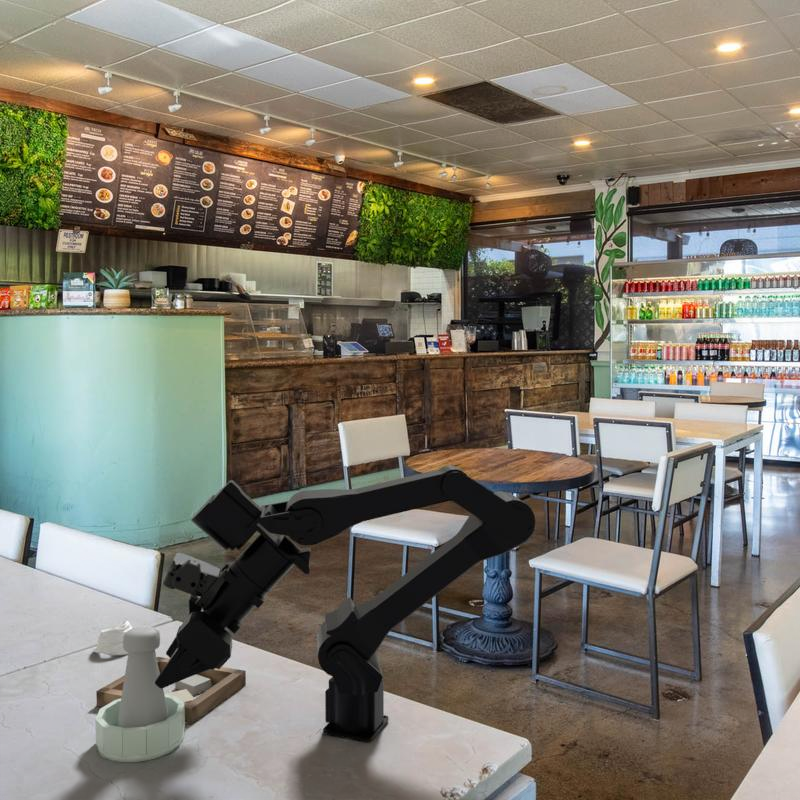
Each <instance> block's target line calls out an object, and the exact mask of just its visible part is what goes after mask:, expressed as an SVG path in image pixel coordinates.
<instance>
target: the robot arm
mask: <svg viewBox="0 0 800 800" xmlns="http://www.w3.org/2000/svg"><path fill="white" fill-rule="evenodd" d="M447 502H453V503H454V504H457V506H459V507H461V508H463V509H464V510H465V511H467V512H469V513H470V514H469V516H468V517H467V519H466V521H464V523H463V525H462V527H461V528H460V529H459V531H458V532H457V533H456V534H455V535H454V536H453V537H452V538H450V539H449V540H448V541H446V542H445V543H443V544H442V545H441V546H439V548H437V549H436V550H434V551H433V552H432V553H430V555H428V556H427V557H425V558H424V559H423V560H422V561H420V562H418V563H417V564H416V565H415V566H413V567H412V568H411V569H410V570H408V571H407V572H406V573H404V575H402V576H400V577H399V578H398V579H397V580H396V581H394V582H393V583H392V584H390V585H389V586H388V587H386V588H384V590H382V591H381V592H380V593H378V594H377V595H376V596H375V597H373V598H372V599H370V600H368V601H365V602H362V603H360V604H357V605H355V603H354V601H353V599H352V598H351V597H347V598H346V599H345V600H344V601H343V602H342V603H341V604H339V606H338V607H337V608H336V609H334V610H332V611H330V612H328V613H325V614H324V621H323V622H322V623H321V624H320V626H319V628H318V630H317V634H316V648H317V649H316V650H317V660H318V665H319V666H320V668H321V669H322V671H323V672H324V673H325V674H326V675H329V676H331V677H330V678H329V679H328V688H327V689H326V690H325V692H324V693H325V694H324V695H325V696H324V697H325V701H324V704H325V707H324V709H325V712H324V713H325V719H324V720H325V722H326V723H327V724H326V725H325V726H324V727H323V728H322V733H323V735H324V734H325V735H330V736H334V737H335V736H336V737H339V738H346V739H352V740H355V741H356V740H357V741H363V742H367V743H368V742H371V741H373V740H374V738H375V737H376V736H377V735H378V733H380V732H381V730H382V729H383V728H384V727H385V725H386V724H387V723H388V722H389V716H388V715H385V714H384V711H385V710H384V705H385V703H384V694H385V693H384V688H385V687H384V685H385V684H384V682H385V681H384V677H383V674H382V670H381V666H380V662H379V658H378V654H377V651H378V650H379V648H380V646H381V645H382V643H383V641H384V640H385V639H386V638H387V636H388V634H389V633H390V632H391V631H392V630H393V629H394V628H396V627H398V625H400V624H401V623H403V621H404V620H407V619H408V617H410V616H411V615H412V614H414V613H416V612H417V611H418V610H419V609H421V607H423V606H424V605H426V604H427V603H429V601H431V600H432V599H434V597H436V596H437V595H438V594H439V593H441V592H442V591H444V590H445V589H446V588H448V587H449V586H450V585H451V584H452V583H454V582H455V581H456V580H458V579H459V578H460V577H462V576H463V575H464V574H466V573H467V572H468V571H469V570H471V569H472V568H473V567H475V566H477V564H479V563H481V562H483V561H486V560H490V559H492V558H496V557H499V556H502V555H504V554H507V553H508V552H510V551H512V550H514V549H516V548H517V547H519V546H521V545H523V544H525V543H527V541H529V540H530V539H531V537H532V536H533V535H534V533H535V527H536V526H535V525H536V516H535V513H534V510H533V509H532V508H531V507H530V506H529V505H528V504H527V503H526V502H524V501H523V500H521V499H520V498H519V497H517V496H515V494H512V493H509V492H508V491H507V492H505V491H493V490H491V489H489V488H488V487H486V486H484V485H483V484H481V483H479V482H478V481H476V480H475V479H473V478H472V477H470V476H469V475H468V474H467V473H466V472H464V471H463V470H461V469H460V468H459V467H457V466H456V465H455V466H454V465H444V466H442V467H440V468H439V469H435V470H430V471H427V472H422V473H418V474H414V475H410V476H406V477H400V478H397V479H393V480H392V479H391V480H387V481H385V482H379V483H375V484H371V485H367V486H362V487H358V488H350V489H338V488H336V489H335V488H327V489H325V488H324V489H321V488H320V489H306V490H301V491H299V492H296V493H294V494H292V495H291V497H290V498H289V500H286V501H281V502H275V503H269V504H264V505H262V506H260V505H259V504H258V503H257V502H255V501H254V500H253V499H252V498H251V497H249V495H248V494H247V493H245V492H244V491H243V489H242V487H241V486H240V485H239V484H238V483H237V482H235V480H233V479H231V480H229V481H228V482H227V483H226V484H225V485H224V486H223V487H222V488H221V489H219V490H218V492H217V493H215V494H212V495H211V496H210V497H209V498H208V500H207V501H206V502H205V503H204V504H203V505H202V506H201V507H200V508H199V509H198V511H196V513H195V514H194V515H193V516H192V517H191V519H190V521H191V522H192V523H193V524H194V525H196V526H197V527H198V528H199V529H200V530H201V531H202V532H204V534H206V535H207V536H208V537H209V538H211V540H213V542H215V544H217V545H218V546H219V547H220V548H221V549H223V550H224V551H227V550H229V549H230V550H231V551H234V550H236V551H239V550H240V549H242V548H243V546H245V545H246V543H247V542H248V541H250V539H251V538H252V537H253V536H254V535H255V533H256V532H257V533H258V535H257V536H256V538H255V539H253V540H252V541H251V542H250V543H249V545H248V546H247V547H246V548H245V549H244V550H243V551H242V552H241V553H240V554H239V555H238V556H237V557H236V558H235V560H234V561H232V560H231V561H229V562H228V561H226V562H225V563H224V564H223V565H222V566H221V567H220V568H219V567H217V566H214V565H212V564H211V563H208V562H206V561H204V560H201V559H198V558H196V557H193V556H191V555H188V554H186V553H182V552H177V553H175V555H174V557H173V558H172V562H171V564H170V566H169V569H168V571H167V573H166V575H165V578H164V579H163V582H162V583H163V586H165V587H166V588H168V589H171V590H178V591H181V592H184V593H187V594H189V595H190V596H189V600H188V612H189V613H188V616H187V617H186V618H185V620H184V621H183V622H182V623H181V625H179V627H178V629H177V632H176V634H175V635H176V636H175V637H174V638H173V640H172V642H171V643H170V646H169V647H168V649H167V650H166V651H165V654H166V656H167V657H168V658H170V660H169V661H168V663H167V664H166V666H165V667H164V669H163V670H162V672H161V673H160V675H159V676H158V678H157V679H156V681H155V685H157V686H158V687H159V688H161V689H162V688H163V689H164V688H167V687H169V686H171V685H175V683H176V682H179V681H181V680H183V679H186V678H188V677H191V676H193V675H196V674H198V673H201V672H204V671H207V670H209V669H211V670H214V669H215V668H217V669H220V668H221V667H224V665H225V664H226V662H228V661H229V660H230V658H231V657H232V652H233V651H232V650H233V635H232V634H231V633H233V634H234V635H235V634H236V633H237V632H238V630H240V629H241V625H242V621H244V619H245V618H246V617H247V616H248V615H249V614H250V613H251V611H253V609H254V608H257V609H259V608H260V607H261V606H262V605H263V604H264V603H265V597H266V596H267V594H269V593H270V592H271V591H272V590H273V588H274V587H275V586H276V585H277V584H278V583H279V582H280V581H281V580H282V579H283V577H284V576H285V575H286V574H287V573H288V572H289V571H290V570H291V569H292V568H293V567H294V566H295V567H296V568H297V569H299V570H300V571H301V572H302V573H304V574H305V575H309V574H310V573H311V567H310V558H311V554H312V551H311V550H312V549H311V548H310V547H304V548H302V547H299V546H298V545H300V546H314V545H317V544H319V543H322V542H324V541H327V540H329V539H331V538H333V537H335V536H338V535H340V534H342V533H343V532H346V531H347V530H349V529H350V528H352V527H353V526H355V525H358V524H361V523H363V522H367V521H371V520H375V519H379V518H383V517H384V518H385V517H388V516H393V515H396V514H400V513H405V512H409V511H412V510H416V509H417V510H418V509H421V508H425V507H428V506H429V507H430V506H434V505H438V504H442V503H447ZM277 535H279V536H277ZM296 543H297V544H298V545H297V544H296ZM226 628H227V629H228V630H229V631H230V632H231V633H229V632H228V631H227V630H226Z"/></svg>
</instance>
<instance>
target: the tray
mask: <svg viewBox="0 0 800 800" xmlns="http://www.w3.org/2000/svg"><path fill="white" fill-rule="evenodd" d="M156 658H157V663H158V668H159V673H161V672H162V670H163V669H164V667H165V666H166V664H167V663H168V661H169V660H170V657H162V656H156ZM197 675H200V676H203V677H206V678H209V679H211V684H213V686H211V688H210V689H208V690H205V691H203V692H202V693H200V695H198V696H197V697H194V698H195V699H194V700H192V701H191V702H189V703H186V702H184V709H185V724H191V725H193V724H194V723H195V722H196V721H197V720H198V721H199V720H200V718H202V717H204V716H205V715H206V714H207V713H209V712H210V711H211V710H213V709H214V708H216V707H218V706H219V705H221V703H223V702H224V701H225V700H227V699H228V698H229V697H230V696H232V695H233V694H235V693H236V692H238V691H239V690H240V689H242V688H243V687H244V686H246V684H247V682H246V681H247V680H246V679H247V677H246V676H247V675H246V670H243V669H237V668H230V667H226V666H222V667H221V668H220V669H217V668H215V669H214V670H211V669H209V670H207V671H204V672H201V673H198V674H197ZM124 678H125V674H124V675H123V676H121V677H119V678H117V679H115V680H114V681H112V682H110V683H108V684H107V685H105V686H103V687H102V688H100V689H97V690H96V706H97V707H101V708H102V707H104V706H106V705H108V704H109V703H111V702H113V701H114V700H117V699H121V697H122V690H123V684H124Z"/></svg>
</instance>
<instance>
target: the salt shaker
mask: <svg viewBox="0 0 800 800" xmlns="http://www.w3.org/2000/svg"><path fill="white" fill-rule="evenodd" d="M160 645H161V633H160V630H159V629H157V628H156V627H154V626H148V625H143V626H142V625H141V626H136V627H132V629H130V630H128V631H127V632H126V633H125V634H124V638H123V648H124V650H125V651H126V652H129V653H128V654H127V660H126V665H125V666H126V667H125V672H124V675H125V678H124V684H123V690H122V697H121V703H120V709H119V716H118V723H119V726H120V727H122V728H131V727H145V726H149V725H152V724H155V723H159V722H162V721H165V720H166V719H167V715H168V708H167V704H166V699H165V695H164V694H165V690H164V688H162V689H161V688H159V687H158V686H157V685H155V681H156V679H157V678H158V676H159V675H160V673H159V668H158V663H157V658H156V657H157V652H156V650H157V649H158V648H159V647H160Z"/></svg>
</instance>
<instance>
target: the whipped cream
mask: <svg viewBox="0 0 800 800" xmlns="http://www.w3.org/2000/svg"><path fill="white" fill-rule="evenodd" d="M132 628H133V626H132V625H131V624H130V622H129V621H128V620H126V621H125V620H124V622H123V623H122V624H120V625H118V626H117V627H111V628H108V629H102V630H100V633H99V636H97V643H96V644H95V645H96V648H94V649H93V650H92V651H93V652H94V653H95V654H104V655H108V656H128V653H129V652H126V651H125V650H124V648H123V638H124V634H125V633H126V632H127V631H128V630H130V629H132Z"/></svg>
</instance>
